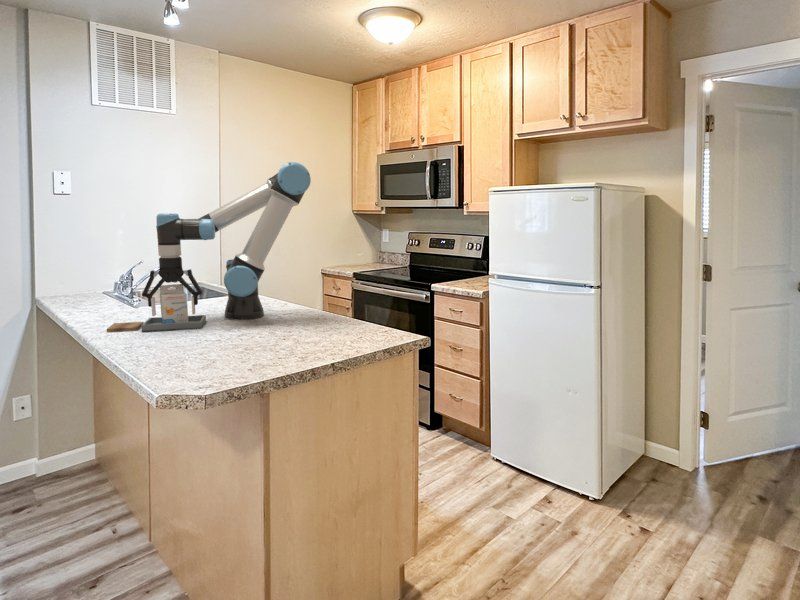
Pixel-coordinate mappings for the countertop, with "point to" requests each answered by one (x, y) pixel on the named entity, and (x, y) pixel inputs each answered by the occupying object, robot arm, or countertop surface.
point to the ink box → (173, 304)
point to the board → (125, 327)
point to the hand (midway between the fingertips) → (174, 314)
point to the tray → (173, 324)
